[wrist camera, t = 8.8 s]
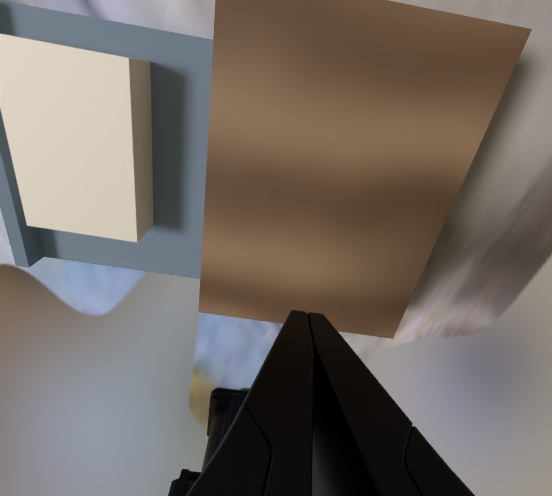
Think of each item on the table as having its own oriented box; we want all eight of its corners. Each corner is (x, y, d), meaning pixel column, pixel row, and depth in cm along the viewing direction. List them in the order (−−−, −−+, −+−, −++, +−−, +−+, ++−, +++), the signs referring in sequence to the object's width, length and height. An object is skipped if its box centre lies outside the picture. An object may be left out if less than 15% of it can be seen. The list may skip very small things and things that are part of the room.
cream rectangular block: (26, 225, 17) (56, 209, 19) (137, 242, 18) (153, 224, 20) (-18, 30, 13) (26, 37, 15) (128, 57, 13) (150, 61, 16)
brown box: (375, 299, 23) (392, 338, 19) (212, 275, 22) (198, 312, 19) (474, 41, 15) (531, 29, 12) (233, -6, 15) (217, -34, 11)
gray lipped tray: (212, 275, 22) (205, 292, 20) (38, 250, 22) (16, 265, 20) (229, 44, 16) (222, 39, 14) (-20, -3, 15) (-60, -14, 13)
